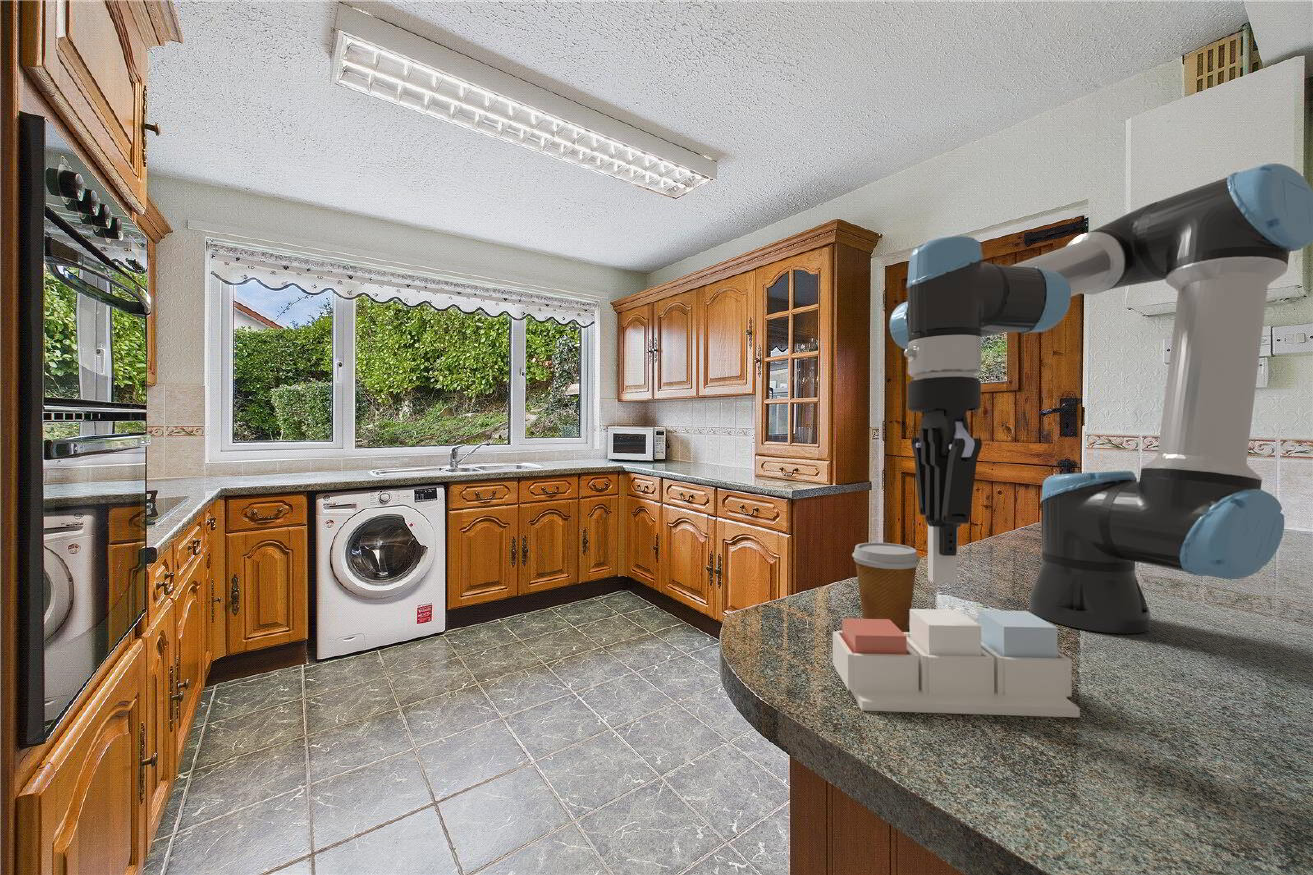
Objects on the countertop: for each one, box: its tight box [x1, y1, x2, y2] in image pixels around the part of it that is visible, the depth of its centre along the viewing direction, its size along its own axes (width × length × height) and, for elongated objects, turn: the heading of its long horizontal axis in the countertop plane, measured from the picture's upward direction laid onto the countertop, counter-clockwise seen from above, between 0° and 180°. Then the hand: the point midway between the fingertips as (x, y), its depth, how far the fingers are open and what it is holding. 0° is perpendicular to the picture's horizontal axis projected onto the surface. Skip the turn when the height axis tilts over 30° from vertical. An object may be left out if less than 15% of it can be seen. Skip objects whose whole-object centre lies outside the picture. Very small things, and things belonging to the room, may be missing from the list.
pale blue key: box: [977, 609, 1059, 658], centre depth 63 cm, size 6×6×4 cm
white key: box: [909, 608, 981, 656], centre depth 64 cm, size 6×6×4 cm
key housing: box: [832, 630, 1081, 718], centre depth 64 cm, size 24×12×5 cm, turn 86°
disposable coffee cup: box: [851, 542, 921, 632], centre depth 84 cm, size 10×10×12 cm
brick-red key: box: [841, 617, 907, 655], centre depth 64 cm, size 6×6×4 cm
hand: (942, 581), depth 64 cm, fingers closed
